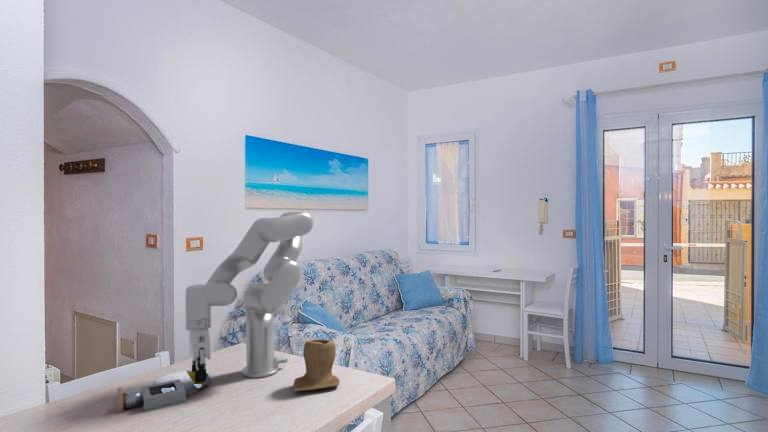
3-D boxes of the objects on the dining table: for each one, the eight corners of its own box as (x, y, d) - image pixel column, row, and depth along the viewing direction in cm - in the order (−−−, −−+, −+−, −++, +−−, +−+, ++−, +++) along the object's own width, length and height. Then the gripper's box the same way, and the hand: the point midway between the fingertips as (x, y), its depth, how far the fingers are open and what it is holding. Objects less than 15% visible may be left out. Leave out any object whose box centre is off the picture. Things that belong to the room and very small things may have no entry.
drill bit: (213, 389, 141) (191, 375, 135) (199, 395, 142) (177, 381, 136) (216, 375, 145) (195, 360, 139) (203, 380, 146) (182, 366, 141)
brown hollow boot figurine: (334, 376, 150) (334, 333, 150) (342, 390, 139) (342, 343, 139) (290, 382, 145) (289, 337, 145) (294, 396, 134) (293, 348, 134)
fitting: (180, 390, 140) (179, 372, 140) (185, 402, 130) (185, 383, 130) (117, 403, 130) (117, 384, 130) (118, 417, 121) (118, 397, 121)
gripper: (216, 327, 136) (216, 385, 136) (205, 316, 150) (205, 368, 151) (190, 331, 132) (191, 390, 132) (181, 319, 146) (182, 373, 146)
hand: (199, 378), depth 141 cm, fingers closed on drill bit, 5 cm apart
